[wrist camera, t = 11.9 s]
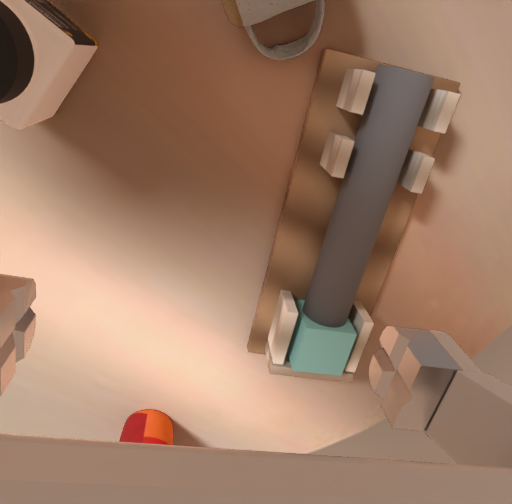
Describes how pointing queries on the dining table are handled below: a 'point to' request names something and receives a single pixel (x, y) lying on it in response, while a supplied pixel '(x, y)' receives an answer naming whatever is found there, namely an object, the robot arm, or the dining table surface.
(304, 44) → the ceramic mug
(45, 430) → the dining table surface
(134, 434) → the paper cup
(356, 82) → the wooden cradle
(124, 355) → the dining table surface
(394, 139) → the grey and teal rod
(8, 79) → the medicine bottle
